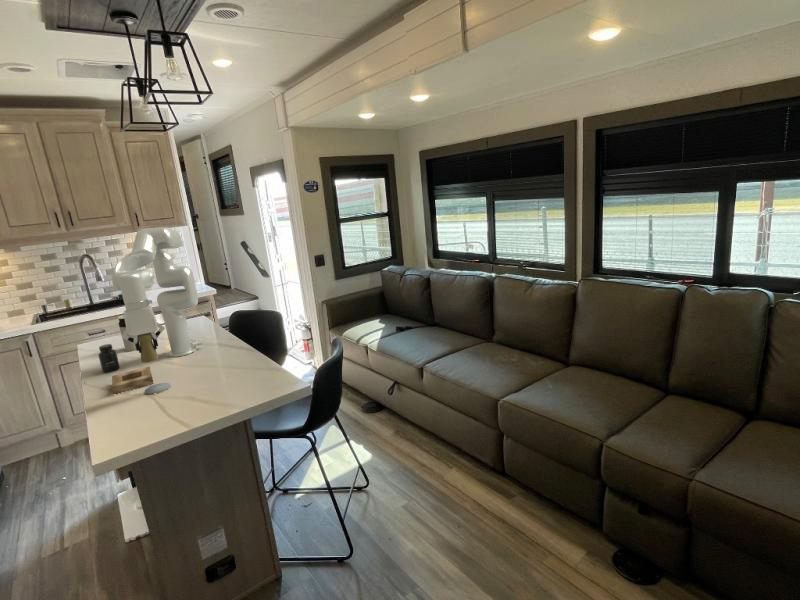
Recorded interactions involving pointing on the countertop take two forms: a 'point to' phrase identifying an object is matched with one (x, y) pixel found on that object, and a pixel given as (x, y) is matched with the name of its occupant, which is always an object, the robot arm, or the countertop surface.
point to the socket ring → (132, 380)
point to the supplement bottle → (108, 358)
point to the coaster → (157, 388)
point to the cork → (147, 348)
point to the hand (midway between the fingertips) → (147, 349)
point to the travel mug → (128, 344)
